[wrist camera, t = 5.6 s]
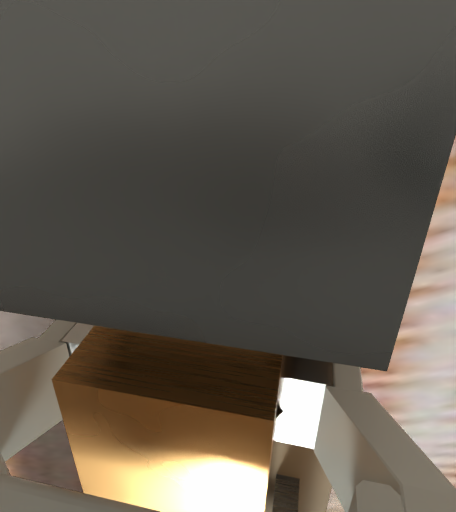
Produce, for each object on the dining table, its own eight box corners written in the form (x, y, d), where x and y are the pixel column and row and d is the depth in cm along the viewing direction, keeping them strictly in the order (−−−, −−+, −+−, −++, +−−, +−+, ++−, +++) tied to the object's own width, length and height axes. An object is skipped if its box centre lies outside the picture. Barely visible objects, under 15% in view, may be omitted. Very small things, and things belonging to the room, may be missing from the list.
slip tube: (315, 75, 7) (306, 115, 3) (267, 499, 14) (246, 676, 10) (145, 69, 8) (-29, 100, 4) (177, 479, 15) (125, 639, 11)
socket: (397, -8, 7) (520, -85, 3) (355, 210, 9) (386, 371, 4) (85, -7, 8) (-197, -61, 4) (111, 188, 10) (-50, 302, 5)
